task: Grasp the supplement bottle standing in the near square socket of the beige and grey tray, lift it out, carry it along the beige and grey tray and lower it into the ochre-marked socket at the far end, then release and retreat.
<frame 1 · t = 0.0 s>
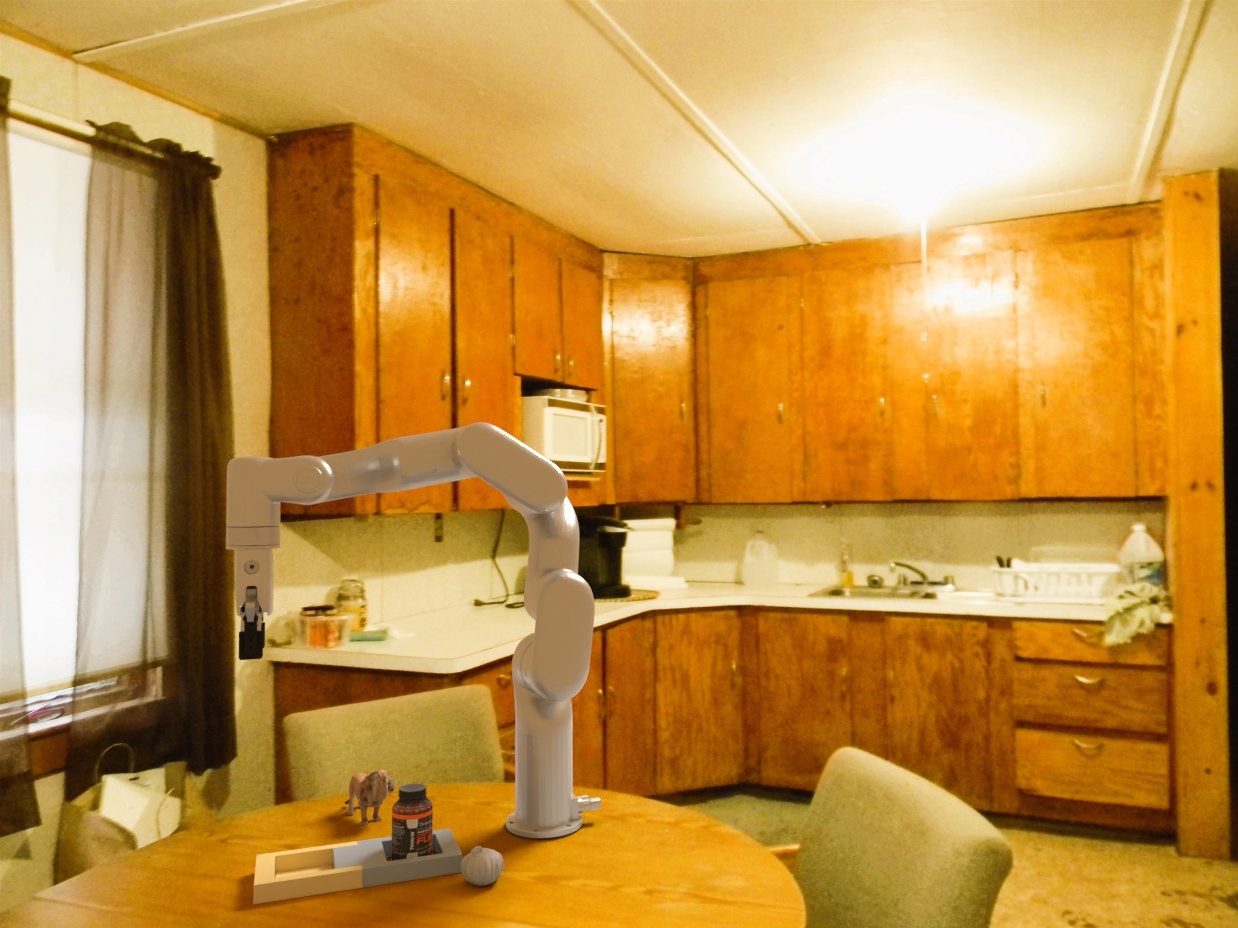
hand: (252, 653, 131), 31 cm above the table, tool pointing down, fingers open, 9 cm apart
garlic: (482, 884, 124), on the table
beige and grey tray: (359, 872, 127), on the table
lion figurine: (368, 818, 150), on the table
supplement bottle: (412, 865, 130), resting in beige and grey tray
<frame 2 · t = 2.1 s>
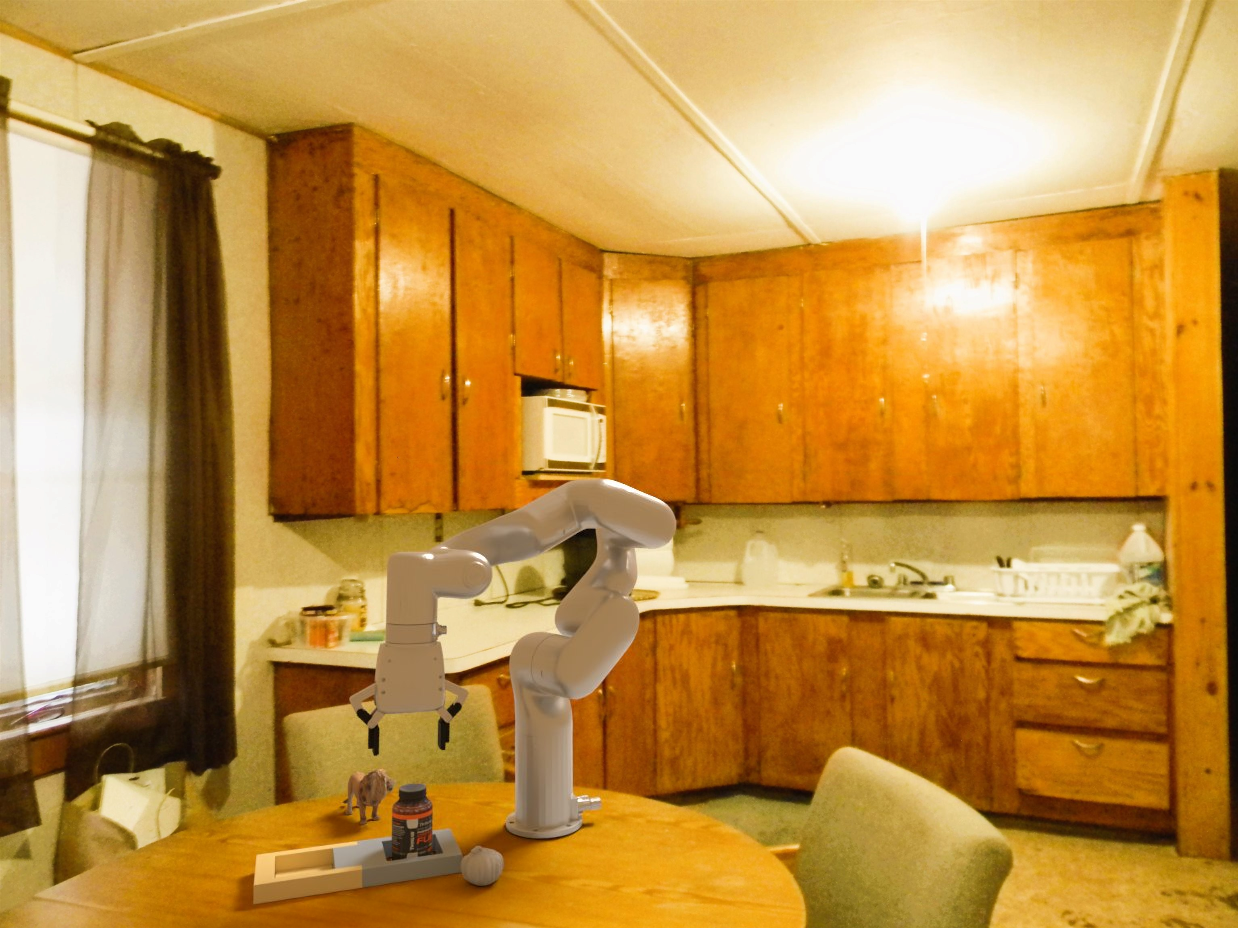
hand: (408, 750, 130), 17 cm above the table, tool pointing down, fingers open, 9 cm apart
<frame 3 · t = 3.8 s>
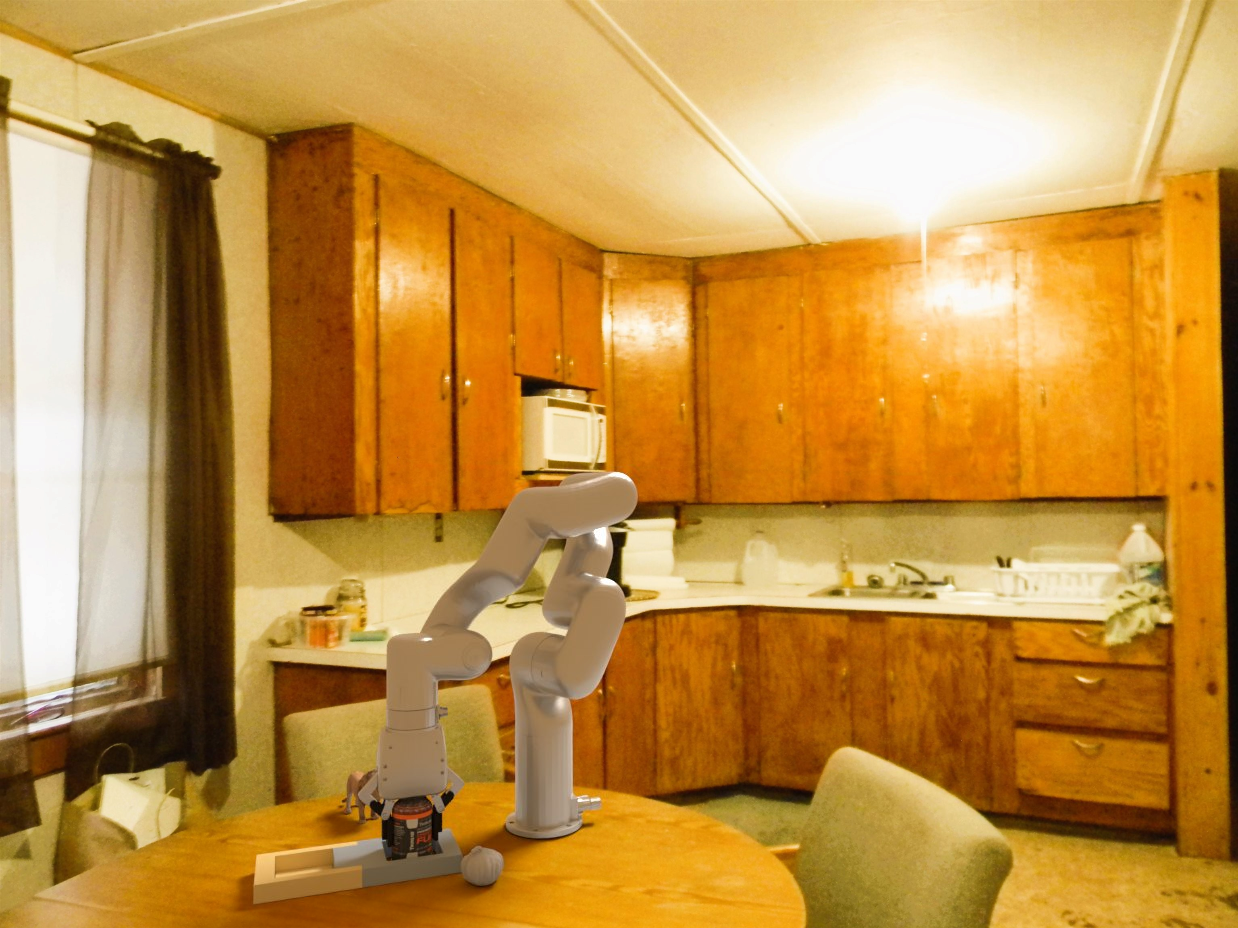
hand: (412, 839, 130), 4 cm above the table, tool pointing down, fingers closed on supplement bottle, 6 cm apart
supplement bottle: (412, 865, 130), resting in beige and grey tray, touching gripper
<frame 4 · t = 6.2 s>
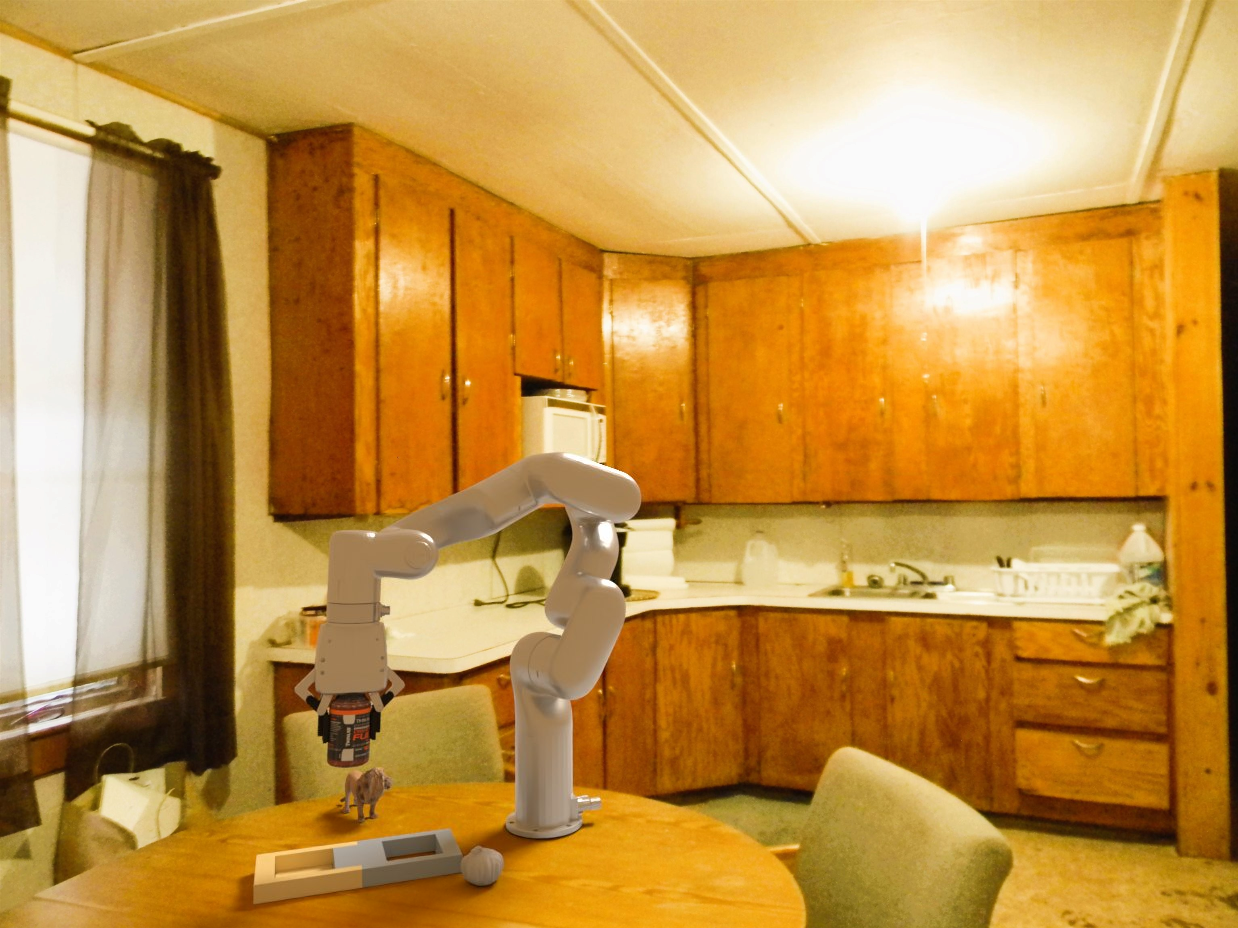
hand: (348, 738, 128), 19 cm above the table, tool pointing down, fingers closed on supplement bottle, 6 cm apart
supplement bottle: (348, 764, 127), point 16 cm above the table, touching gripper
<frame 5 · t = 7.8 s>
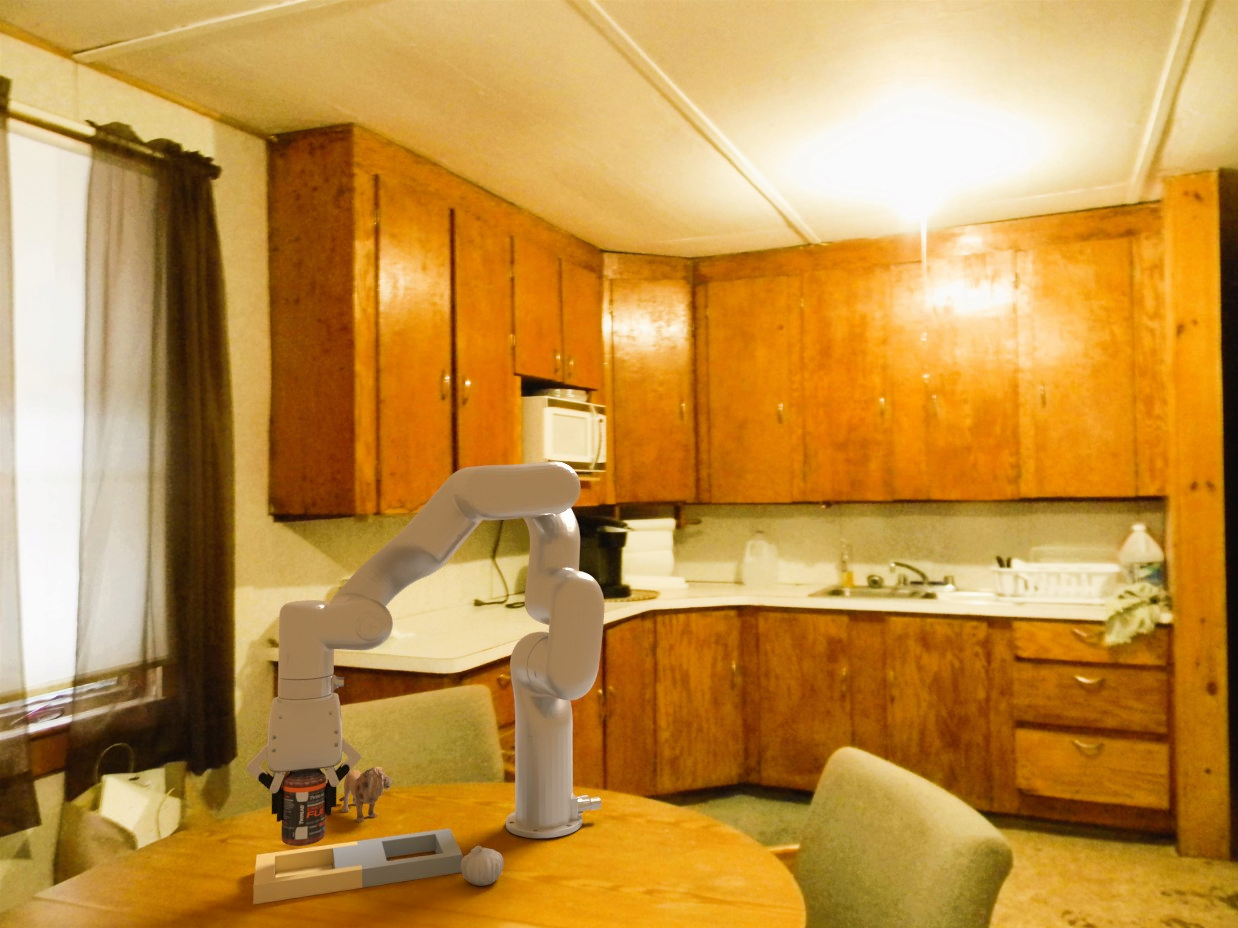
hand: (304, 814, 125), 9 cm above the table, tool pointing down, fingers closed on supplement bottle, 6 cm apart
supplement bottle: (303, 841, 125), point 5 cm above the table, touching gripper
when the fingers open (5 cm above the table, at t = 8.9 s): supplement bottle drops 1 cm, resting on beige and grey tray.
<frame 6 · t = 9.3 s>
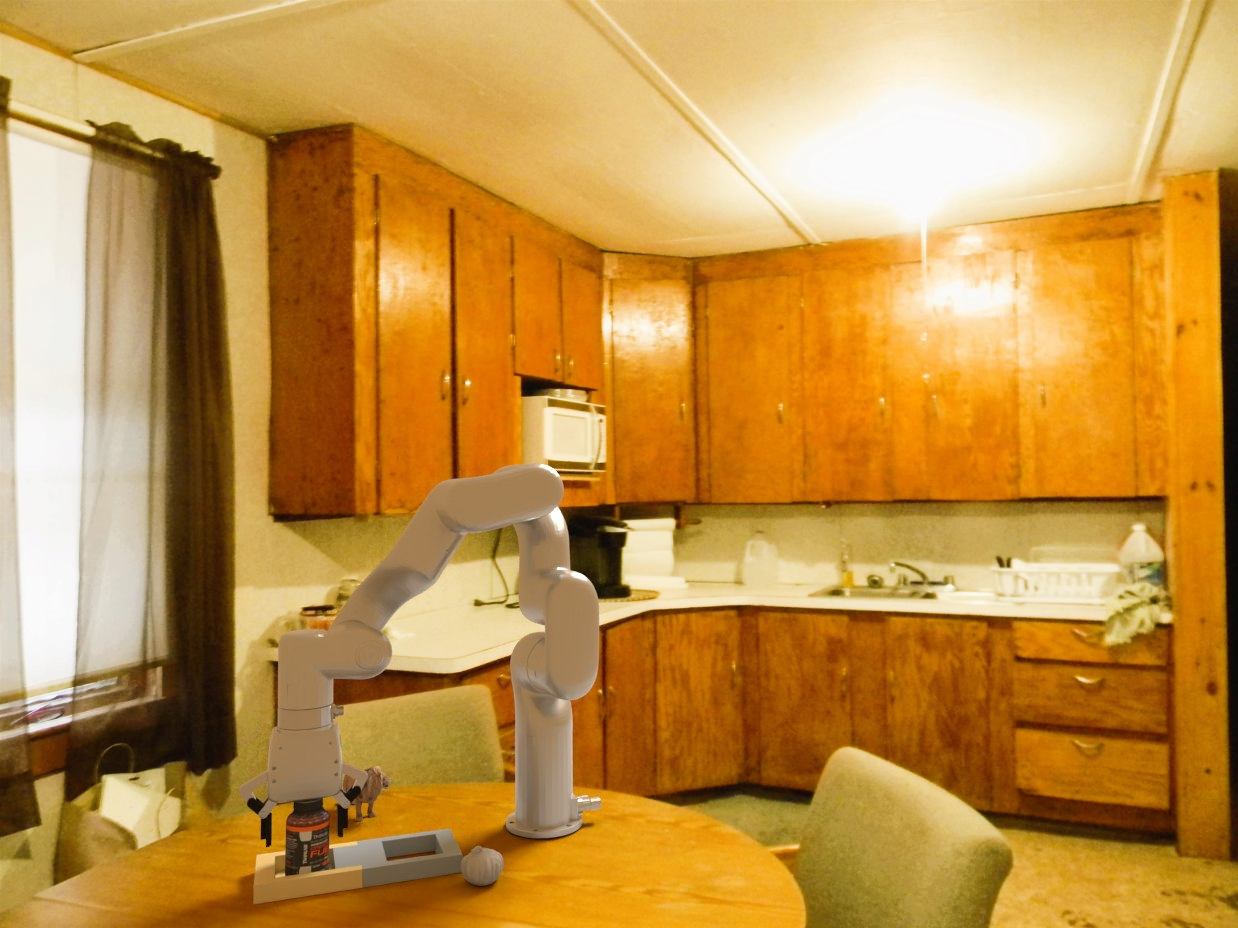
hand: (304, 838, 125), 6 cm above the table, tool pointing down, fingers open, 9 cm apart
supplement bottle: (307, 879, 125), resting on beige and grey tray
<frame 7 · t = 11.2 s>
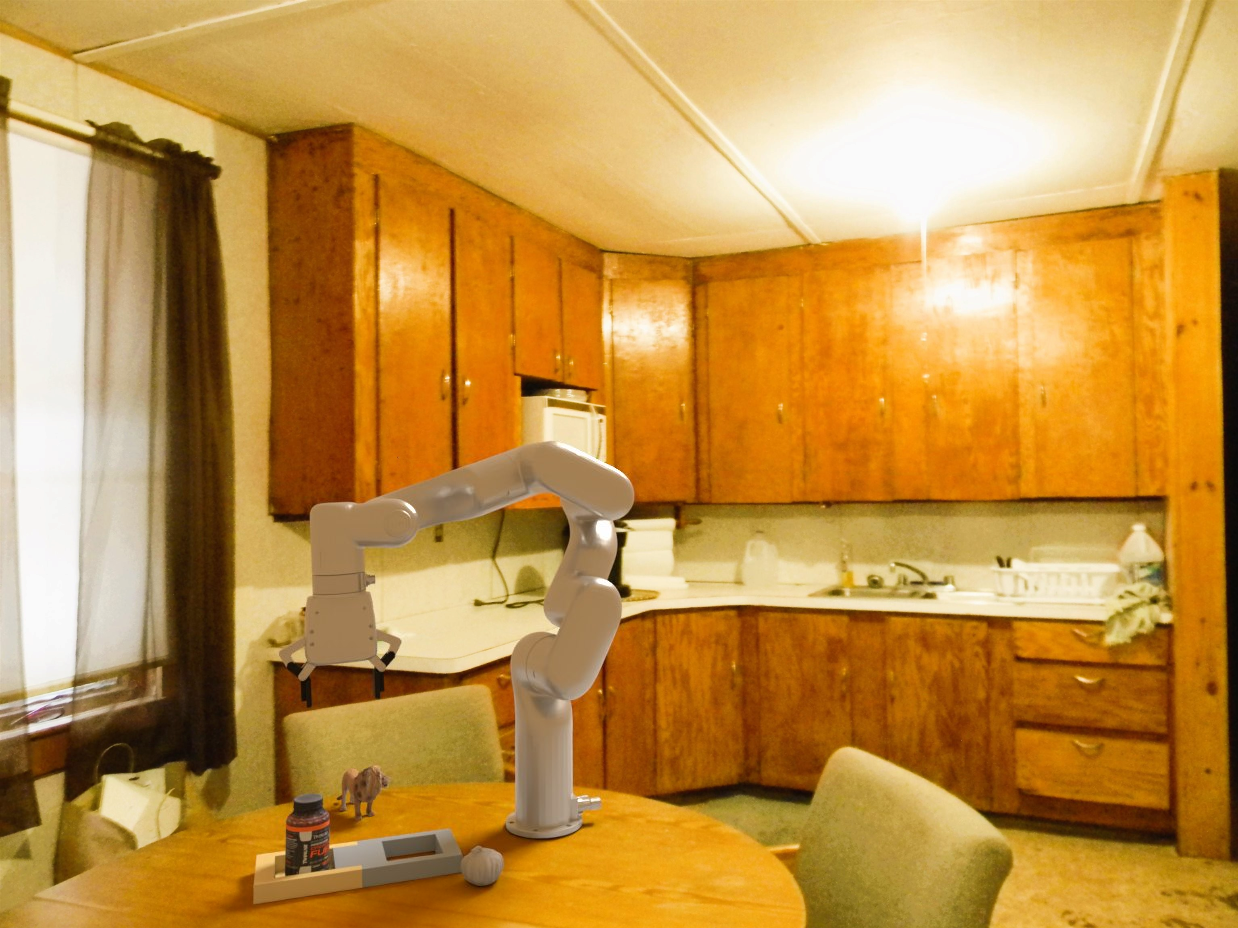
hand: (343, 701, 130), 24 cm above the table, tool pointing down, fingers open, 9 cm apart
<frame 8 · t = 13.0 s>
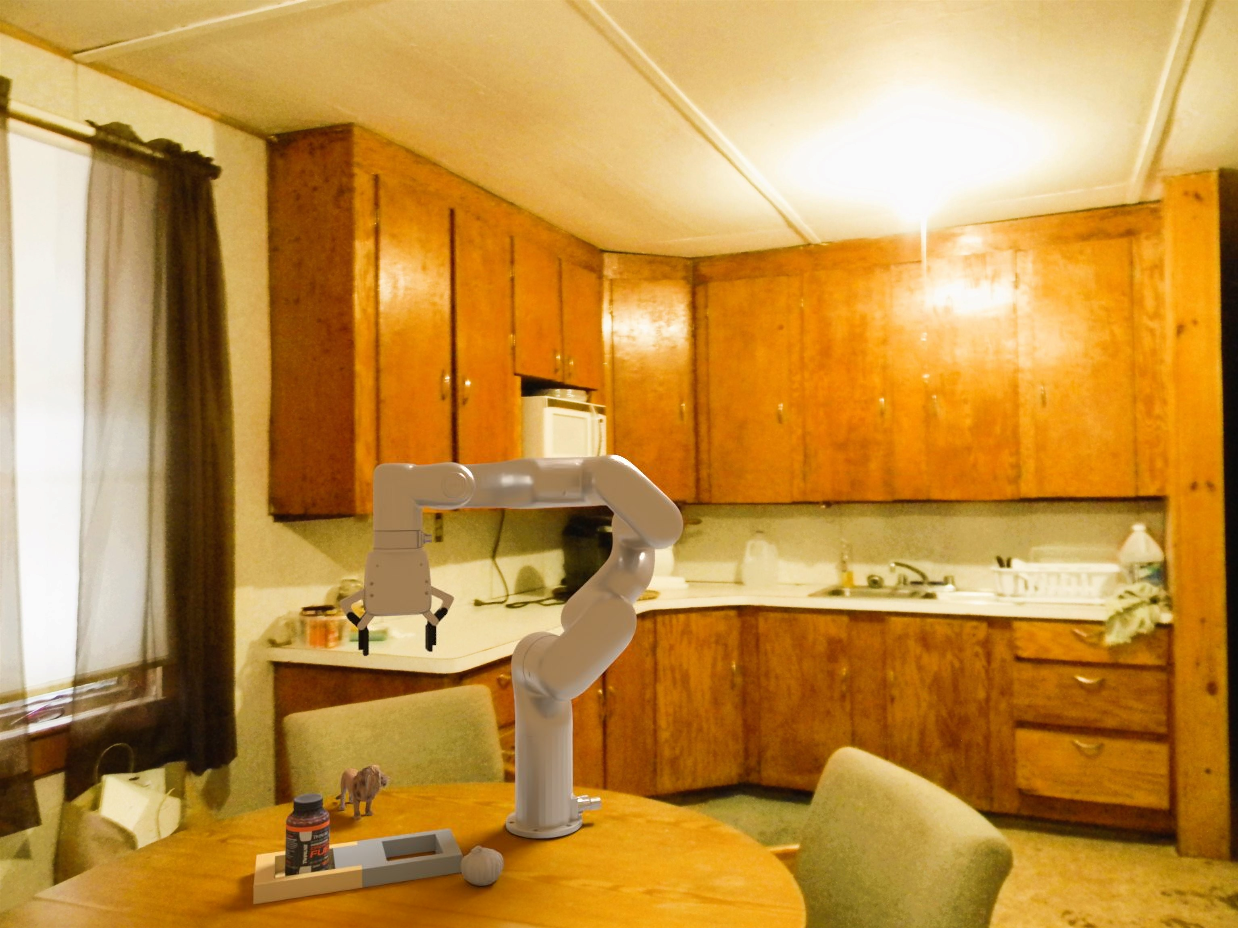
hand: (397, 652, 136), 30 cm above the table, tool pointing down, fingers open, 9 cm apart
at the end: supplement bottle 0.4 cm from the target spot on the beige and grey tray, point 0.0 cm above the beige and grey tray's base; supplement bottle tilted 0°; the gripper is holding nothing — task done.
